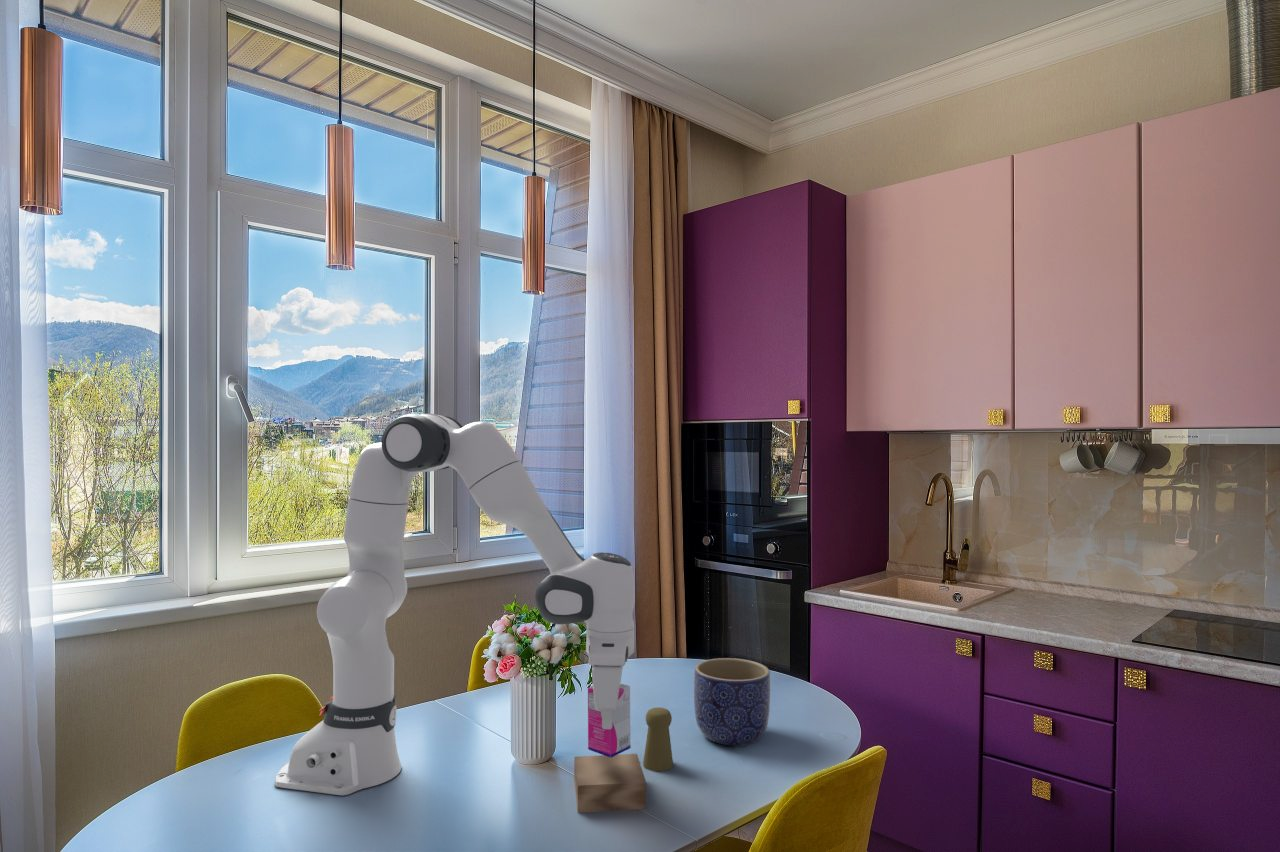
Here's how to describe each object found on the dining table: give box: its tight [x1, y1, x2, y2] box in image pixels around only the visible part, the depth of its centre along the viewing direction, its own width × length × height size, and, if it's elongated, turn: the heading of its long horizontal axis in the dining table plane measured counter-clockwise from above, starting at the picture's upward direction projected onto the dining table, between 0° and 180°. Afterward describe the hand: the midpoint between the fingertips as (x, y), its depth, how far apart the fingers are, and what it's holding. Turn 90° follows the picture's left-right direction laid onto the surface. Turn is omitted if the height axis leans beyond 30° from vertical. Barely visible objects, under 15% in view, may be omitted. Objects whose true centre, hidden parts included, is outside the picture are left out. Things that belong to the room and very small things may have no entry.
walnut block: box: [573, 753, 647, 814], centre depth 139 cm, size 12×12×5 cm
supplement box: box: [587, 683, 632, 758], centre depth 139 cm, size 6×6×12 cm
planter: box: [693, 657, 771, 747], centre depth 166 cm, size 17×17×15 cm
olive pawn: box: [642, 707, 674, 772], centre depth 152 cm, size 6×6×11 cm
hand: (609, 718), depth 139 cm, fingers closed on supplement box, 8 cm apart
